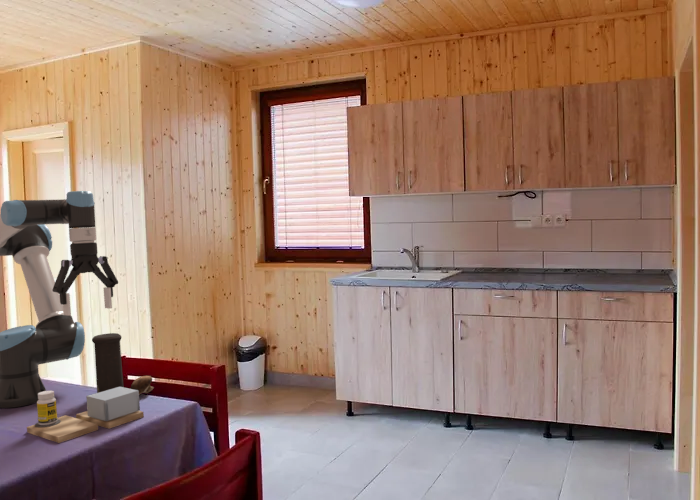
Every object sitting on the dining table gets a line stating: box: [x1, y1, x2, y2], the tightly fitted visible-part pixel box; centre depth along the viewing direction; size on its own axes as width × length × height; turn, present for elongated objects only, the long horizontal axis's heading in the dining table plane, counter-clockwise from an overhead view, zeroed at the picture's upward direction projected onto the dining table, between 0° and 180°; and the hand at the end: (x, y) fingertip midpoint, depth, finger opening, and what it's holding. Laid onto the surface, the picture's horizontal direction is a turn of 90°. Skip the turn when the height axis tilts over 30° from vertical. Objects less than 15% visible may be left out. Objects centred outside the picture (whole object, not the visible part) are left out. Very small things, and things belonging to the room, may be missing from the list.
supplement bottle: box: [36, 390, 58, 425], centre depth 172 cm, size 5×5×8 cm
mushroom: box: [130, 375, 155, 396], centre depth 202 cm, size 8×8×6 cm
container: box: [91, 332, 125, 393], centre depth 202 cm, size 9×9×20 cm
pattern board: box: [75, 410, 145, 430], centre depth 179 cm, size 16×11×4 cm
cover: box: [86, 387, 141, 421], centre depth 177 cm, size 9×11×6 cm
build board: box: [26, 415, 99, 444], centre depth 170 cm, size 17×11×2 cm, turn 54°
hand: (88, 311), depth 192 cm, fingers open, 13 cm apart
